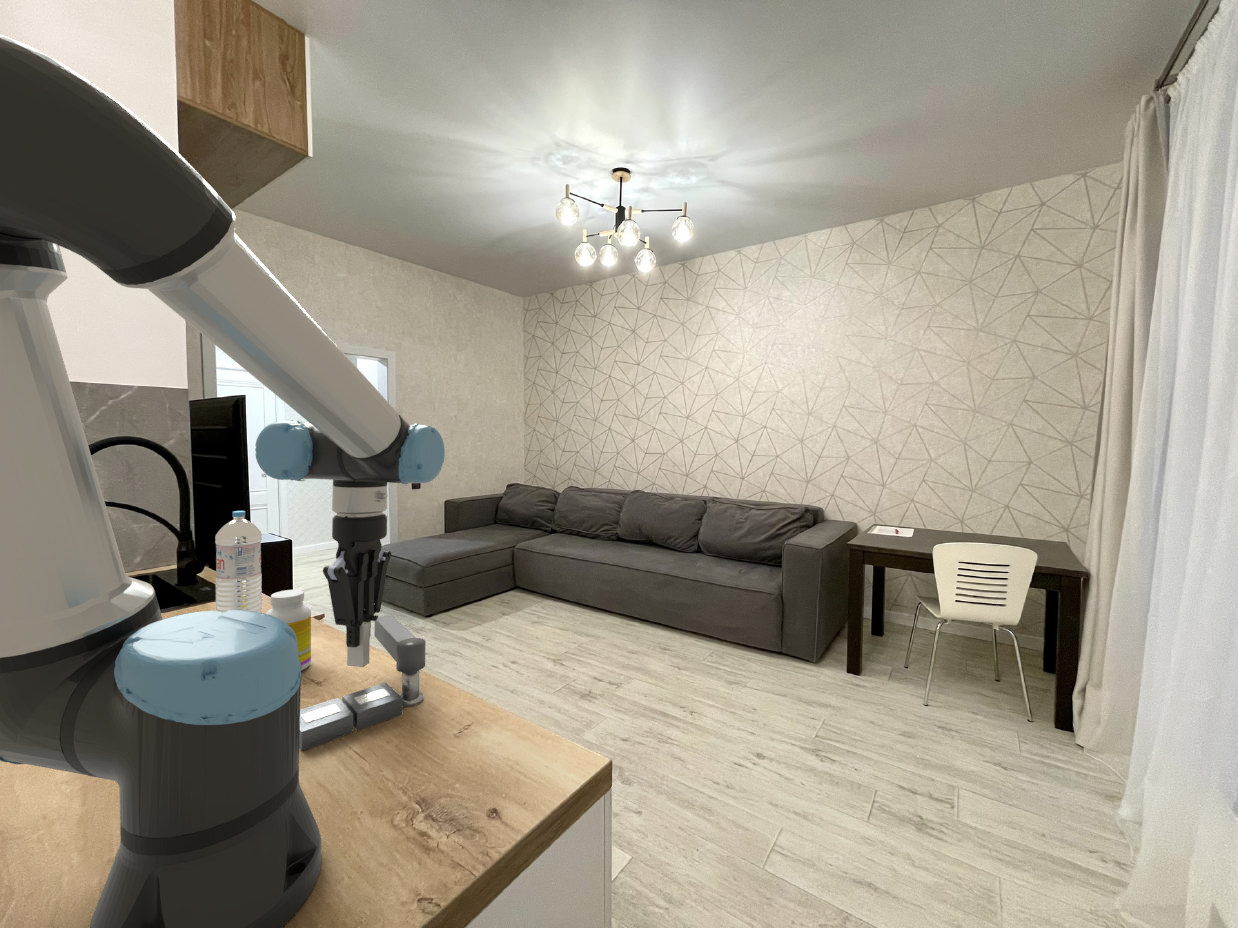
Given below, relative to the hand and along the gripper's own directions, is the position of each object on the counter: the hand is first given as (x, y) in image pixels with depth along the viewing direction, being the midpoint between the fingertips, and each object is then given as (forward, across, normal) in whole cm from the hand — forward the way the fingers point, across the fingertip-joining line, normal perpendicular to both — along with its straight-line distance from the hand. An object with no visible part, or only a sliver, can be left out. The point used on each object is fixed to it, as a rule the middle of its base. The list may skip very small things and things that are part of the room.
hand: (358, 664), depth 78 cm
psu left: (+4, -11, -3) cm, 12 cm away
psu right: (+4, -6, -6) cm, 10 cm away
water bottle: (+4, +10, +32) cm, 34 cm away
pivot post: (+4, -1, -10) cm, 11 cm away
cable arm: (-1, +3, -5) cm, 6 cm away
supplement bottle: (+4, +4, +16) cm, 17 cm away
